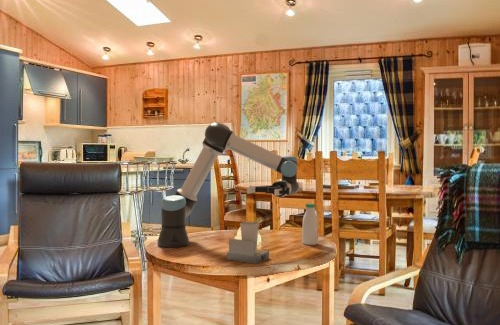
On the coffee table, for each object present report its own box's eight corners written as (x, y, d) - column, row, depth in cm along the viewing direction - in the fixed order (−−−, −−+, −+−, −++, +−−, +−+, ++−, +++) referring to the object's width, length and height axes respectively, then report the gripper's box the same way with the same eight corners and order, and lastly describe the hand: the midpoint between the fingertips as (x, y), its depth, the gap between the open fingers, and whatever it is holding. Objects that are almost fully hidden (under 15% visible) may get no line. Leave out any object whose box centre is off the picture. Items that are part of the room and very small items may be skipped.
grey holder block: (226, 259, 204) (226, 238, 204) (240, 254, 215) (240, 234, 214) (257, 264, 197) (257, 242, 197) (269, 258, 208) (269, 237, 208)
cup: (262, 251, 207) (262, 223, 207) (249, 253, 201) (249, 225, 201) (249, 248, 213) (249, 221, 212) (236, 251, 207) (236, 223, 207)
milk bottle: (317, 245, 236) (317, 204, 236) (301, 244, 238) (301, 204, 237) (318, 242, 244) (318, 203, 243) (302, 242, 245) (303, 202, 245)
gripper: (304, 198, 229) (286, 202, 210) (257, 194, 240) (236, 197, 221) (305, 182, 228) (287, 184, 210) (258, 179, 240) (237, 181, 221)
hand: (261, 191), depth 215 cm, fingers open, 13 cm apart
